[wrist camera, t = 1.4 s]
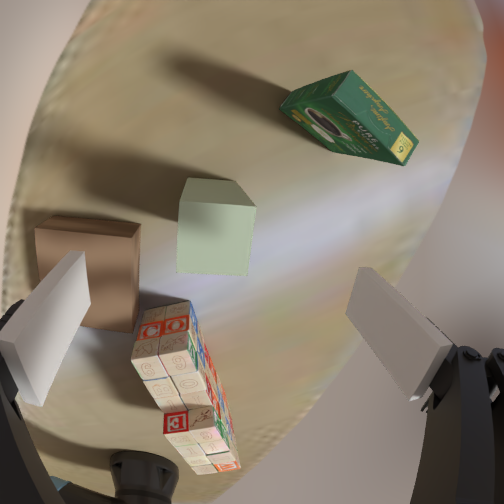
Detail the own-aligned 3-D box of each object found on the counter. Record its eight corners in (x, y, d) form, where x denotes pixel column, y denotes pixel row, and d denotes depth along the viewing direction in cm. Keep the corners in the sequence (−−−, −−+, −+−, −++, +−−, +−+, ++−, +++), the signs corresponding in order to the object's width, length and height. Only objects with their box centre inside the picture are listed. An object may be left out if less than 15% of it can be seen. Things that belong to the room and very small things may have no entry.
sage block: (230, 227, 32) (247, 276, 21) (184, 223, 31) (176, 272, 20) (235, 181, 30) (256, 206, 19) (187, 177, 29) (179, 201, 18)
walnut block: (139, 309, 34) (132, 333, 30) (61, 298, 32) (46, 319, 27) (141, 223, 31) (131, 238, 26) (54, 214, 28) (34, 227, 24)
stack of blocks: (142, 309, 34) (124, 380, 23) (190, 298, 35) (189, 370, 23) (193, 413, 43) (197, 476, 31) (230, 406, 43) (241, 470, 32)
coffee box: (347, 135, 30) (423, 141, 18) (333, 155, 31) (406, 170, 19) (292, 89, 28) (350, 63, 16) (276, 109, 28) (327, 93, 16)
